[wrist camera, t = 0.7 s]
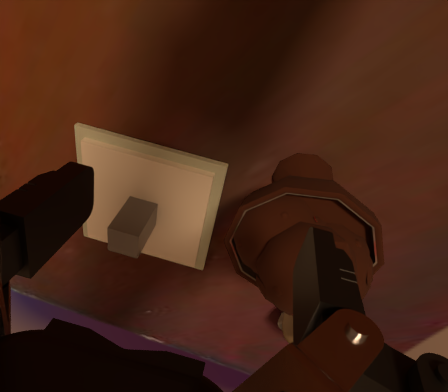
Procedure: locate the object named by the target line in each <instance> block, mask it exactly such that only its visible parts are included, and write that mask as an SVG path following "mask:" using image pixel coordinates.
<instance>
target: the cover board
mask: <svg viewBox="0 0 448 392" xmlns="http://www.w3.org/2000/svg"><path fill="white" fill-rule="evenodd" d="M81 153H82V164H83V165H87V166H90V167H92V168H93V169H94V205H93V210H92V213H91V215H90V217H89V218H88V219H87V232H88V237H89V238H93V239H96V240H100V241H103V242H107V243H108V250H109V251H113V252H116V253H120V254H123V255H127V256H130V257H133V258H137V259H138V257H139V255H140V253H145V254H148V255H152V256H155V257H159V258H162V259H166V260H169V261H173V262H176V263H179V264H183V265H186V266H190V267H193V268H194V267H195V264H196V260H197V255H198V251H199V246H200V241H201V237H202V232H203V227H204V223H205V218H206V213H207V209H208V204H209V199H210V195H211V190H212V185H213V181H214V176H215V173H213V172H209V171H206V170H202V169H198V168H195V167H191V166H188V165H184V164H180V163H177V162H173V161H169V160H166V159H162V158H159V157H155V156H151V155H148V154H144V153H140V152H137V151H133V150H130V149H126V148H122V147H119V146H115V145H112V144H108V143H104V142H101V141H97V140H93V139H90V138H86V137H85V138H83V139H82V140H81Z"/></svg>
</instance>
